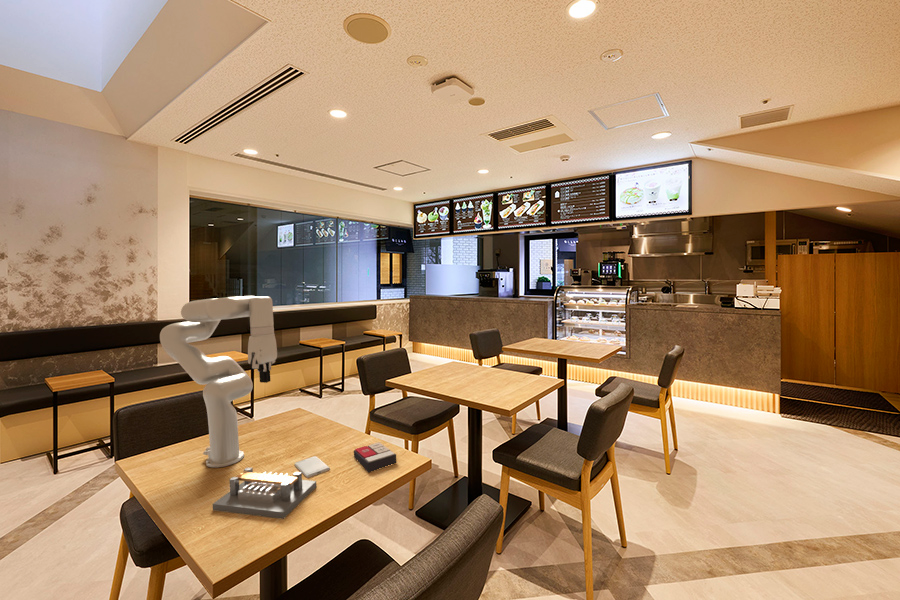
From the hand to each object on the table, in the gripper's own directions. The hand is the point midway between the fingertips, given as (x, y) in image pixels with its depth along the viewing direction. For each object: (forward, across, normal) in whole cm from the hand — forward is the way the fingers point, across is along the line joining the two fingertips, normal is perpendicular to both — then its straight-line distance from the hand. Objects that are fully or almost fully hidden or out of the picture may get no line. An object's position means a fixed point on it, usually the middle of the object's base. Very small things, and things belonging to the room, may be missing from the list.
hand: (265, 381), depth 137 cm
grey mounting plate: (+32, +17, +12) cm, 38 cm away
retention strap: (+26, +17, +12) cm, 34 cm away
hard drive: (+33, -3, +15) cm, 36 cm away
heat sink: (+30, +17, +12) cm, 36 cm away
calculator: (+33, -12, +36) cm, 50 cm away
